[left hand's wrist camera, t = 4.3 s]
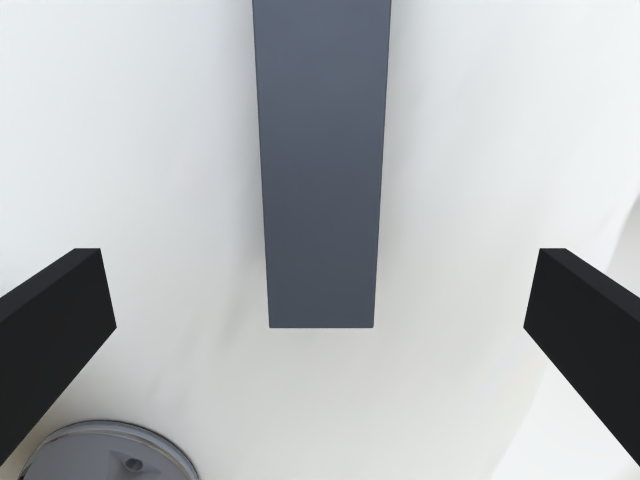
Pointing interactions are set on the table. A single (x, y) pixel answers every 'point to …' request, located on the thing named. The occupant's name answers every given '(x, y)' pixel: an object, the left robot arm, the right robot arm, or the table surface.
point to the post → (321, 156)
